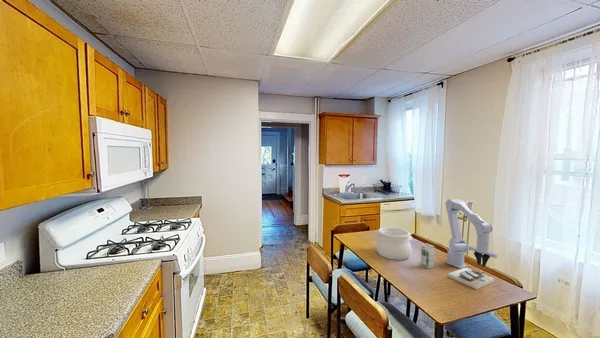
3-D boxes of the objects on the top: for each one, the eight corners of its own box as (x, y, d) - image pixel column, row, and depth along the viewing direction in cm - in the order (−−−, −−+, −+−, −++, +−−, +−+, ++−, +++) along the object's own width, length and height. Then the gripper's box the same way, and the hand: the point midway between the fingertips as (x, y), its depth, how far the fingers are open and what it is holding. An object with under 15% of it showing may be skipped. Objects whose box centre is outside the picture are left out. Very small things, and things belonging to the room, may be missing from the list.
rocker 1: (459, 273, 148) (459, 272, 148) (463, 272, 150) (463, 271, 149) (469, 280, 143) (469, 279, 143) (473, 278, 145) (473, 277, 144)
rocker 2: (464, 271, 150) (465, 270, 150) (468, 270, 152) (468, 269, 152) (475, 278, 145) (475, 277, 145) (478, 276, 147) (479, 275, 147)
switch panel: (448, 276, 152) (448, 273, 152) (465, 270, 160) (465, 267, 160) (476, 289, 138) (476, 285, 138) (494, 281, 146) (494, 278, 146)
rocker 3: (470, 272, 153) (470, 270, 153) (473, 270, 155) (473, 269, 155) (480, 274, 148) (480, 272, 148) (484, 272, 149) (484, 271, 149)
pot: (406, 249, 196) (406, 227, 195) (417, 262, 172) (418, 237, 171) (372, 247, 199) (372, 226, 198) (378, 260, 174) (379, 236, 173)
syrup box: (420, 265, 168) (420, 243, 167) (426, 263, 170) (427, 242, 169) (427, 268, 162) (428, 246, 162) (433, 267, 165) (434, 245, 164)
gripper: (465, 240, 153) (464, 261, 153) (493, 248, 140) (491, 271, 141) (472, 238, 156) (471, 259, 157) (499, 246, 143) (498, 269, 144)
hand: (481, 265), depth 149 cm, fingers closed
